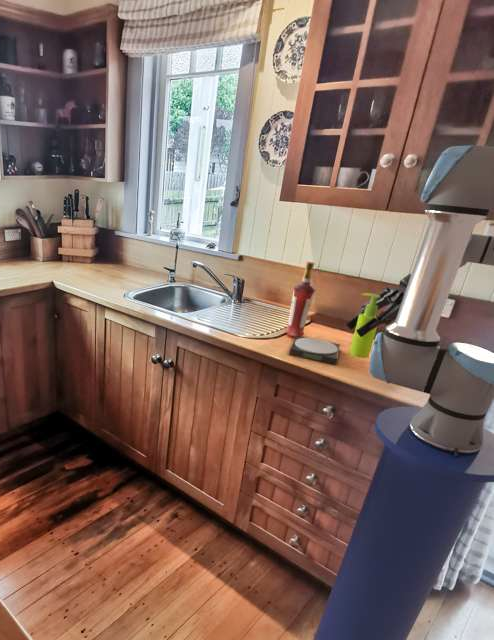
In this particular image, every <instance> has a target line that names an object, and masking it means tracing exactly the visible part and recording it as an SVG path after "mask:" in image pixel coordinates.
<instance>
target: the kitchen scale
mask: <svg viewBox="0 0 494 640" xmlns="http://www.w3.org/2000/svg"><path fill="white" fill-rule="evenodd" d="M340 347H341V343H335V342H331V341H327V340H325V339H320V338H314V337H307V336H303V335H302V336H297V337H296V338H294V341H293V342H292V345H291V347H290V349H289V353H288V355H289V356H292V357H293V356H294V357H298V358H303V359H308V360H312V361H315V362H316V361H318V362H321V363H324V364H325V363H326V364H331V365H336V363H337V361H338V356H339V353H340Z"/></svg>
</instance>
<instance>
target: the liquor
mask: <svg viewBox="0 0 494 640" xmlns="http://www.w3.org/2000/svg"><path fill="white" fill-rule="evenodd" d="M314 267H315V262H314V261H306V262H305V268H304V269H305V270H304V274H303V277H302V280H301V282H299V283H297V284H295V285H294V286H293V292H292V297H291V304H290V309H289V316H288V323H287V326H286V329H285V331H284V332H285V333H286V335H287V336H288V337H290V338H292V339H293V338H294V339H296V337H297V336H302V337H303V336H304V335H305V332H304V330H305V327H306V323H307V319H308V315H309V313H310V310H311V305H312V303H313V300H314V295H315V292H316V287H315V286H314V285H312V284H311V281H312V272H313V269H314Z"/></svg>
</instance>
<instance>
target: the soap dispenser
mask: <svg viewBox="0 0 494 640" xmlns="http://www.w3.org/2000/svg"><path fill="white" fill-rule="evenodd" d="M360 296H365V297H370V299H371V301H370V303H369V304H367V305H366V308H365V311H364V314H359V317H358V321H357V325H356V326H355V327H354V328H355V329H354V332H353V335H352V340H351V344H350V348H349V352H348V354H349V355H351V356H353V357H355V358H360V359H366V358H369V356H370V354H371V351H372V347H373V344H374V340H375V337H376V332H377V328H378V326H377V327H376V328H374V329H373V330H371V331H369V332H368V333H367V334H365V335H364V336H362V337H360V336H359V334H358V333H357V331H356V330H357V329H359V328H360V327H361V326H363V325H364V324H366V323H367V322H368V321H370V320H371V319H372V318H374V317H375V318H376V316H377V313H378V310H377V309H378V306H377V305H376V301H377V299H378V298H380V297H381V296H379V295H378V294H376V293H371V292H363V293H360ZM376 319H377V318H376Z"/></svg>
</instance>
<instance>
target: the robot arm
mask: <svg viewBox="0 0 494 640" xmlns="http://www.w3.org/2000/svg"><path fill="white" fill-rule="evenodd" d="M420 202H421V203H424V204H426V205H425V208H424V213H425V214H426V216H427V217H428V224H427V226H426V229H425V233H424V236H423V237H422V241H421V245H420V248H419V250H418V253H417V256H416V259H415V262H414V265H413V267H412V271H411V272H410V273H408V274H407V275H406V276H404V277H403V278H401V279H400V280H399V285H397V286H396V287H394V288H390V286H385V288H384V289H383V290H382V291H380V292H379V293H378V294H377V295H379V296H381V297H380V298H378V299H377V301H376V305H377V306H378V309H377V311H379V310H381V309H382V308H384V307H385V308H384V309H383V311H381V313H379V315H376V318H377V319H376V318H375V317H374V318H372V319H371V320H370V321H368V322H367V323H366V324H364V325H363V326H361V327H360V328H359V329H357V330H356V331H357V333H358V334H359V336H360V337H362V336H364V335H365V334H367V333H368V332H369V331H371V330H373V329H374V328H376V327H377V328H378V327H379V326H380V325H383V324H384V325H385V326H386V327H385V330H384V331H381V332H378V333H377V334H375V337H374V340H373V344H372V347H371V351H370V358H369V373H370V375H371V377H372V378H374V379H376V380H380V381H382V382H385V383H386V384H393V385H396V386H399V387H402V388H406V389H410V390H413V391H416V392H420V393H423V394H427V395H429V397H428V399H427V401H426V403H425V404H424V405H423V406H422V407H420V408H421V409H420V411H419V412H418V413H417V414H416V415H415V416H414V417H413V418H412V420H411V422H410V424H409V431H410V433H411V434H412V435H413V436H414V437H415V438H416V439H418V440H419V441H421V442H422V443H424V444H426V445H428V446H430V447H432V448H434V449H437V450H440V451H443V452H446V453H450V454H455V457H459V455H474V454H477V453H478V452H479V451H480V449H481V447H482V444H483V428H484V421H485V418H486V416H487V413H488V411H489V409H490V407H491V404H492V403H493V400H494V352H492V351H489V350H488V349H484V348H482V347H480V346H477V345H474V344H469V343H467V342H463V343H462V342H452V343H450V344H449V345H448V346H447V347H445V346H440V345H439V344H440V341H441V337H440V335H439V333H438V332H437V329H438V325H439V322H440V319H441V317H442V315H443V312H444V309H445V306H446V303H447V301H448V298H449V296H450V294H451V290H452V288H453V285H454V282H455V280H456V277H457V275H458V271H459V269H460V268H462V267H464V266H466V265H467V264H468V263H473V264H478V265H479V264H480V265H486V266H491V267H494V235H486V234H477V233H473V232H474V229H475V227H476V225H477V224H478V223H480V222H482V221H484V220H486V219H487V218H488V215H489V213H490V210H494V146H492V145H491V146H490V145H472V144H471V145H454V146H449V147H447V148H446V149H445V150H443V151H442V153H441V154H440V155H439V157H438V159H437V161H436V162H435V163H434V166H433V168H432V170H431V172H430V175H429V177H428V178H427V180H426V183H425V185H424V187H423V191H422V194H421V197H420ZM370 301H371V298H370V299H369V300H367V301H366V302H365V303H363V304H362V305H361V309H362V310H361V311H360V312H358V313H357V314H356V315H354V316H353V317H352V318H350V319H349V320H348V321H347V322H346V323H345V325H346V326H347V328H348V329H349V330H350V331H351V330H353V329H354V328H356V325H357V321H358V317H359V314H364V311H365V308H366V305H367V304H369V303H370ZM392 322H393V323H392Z"/></svg>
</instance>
